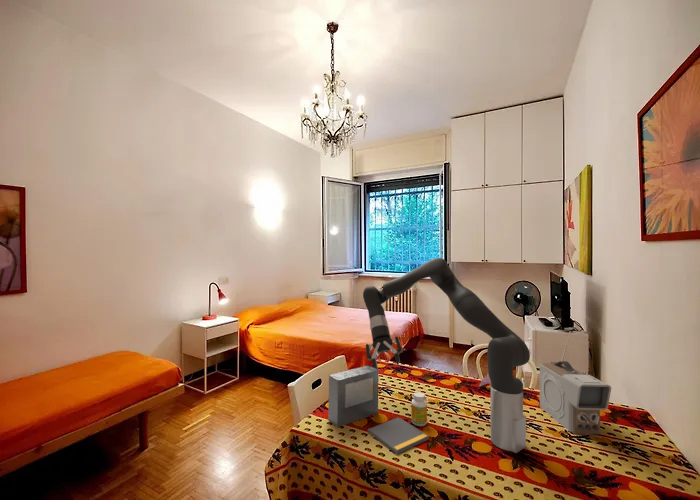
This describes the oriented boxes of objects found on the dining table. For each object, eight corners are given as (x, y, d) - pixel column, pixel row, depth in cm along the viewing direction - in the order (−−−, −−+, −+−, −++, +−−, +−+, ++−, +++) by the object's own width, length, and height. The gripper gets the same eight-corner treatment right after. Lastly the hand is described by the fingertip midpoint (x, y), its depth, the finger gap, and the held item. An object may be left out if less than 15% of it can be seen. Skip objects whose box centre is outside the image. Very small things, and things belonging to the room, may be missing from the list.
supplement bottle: (415, 427, 109) (415, 398, 109) (408, 419, 114) (408, 392, 114) (429, 425, 110) (429, 397, 110) (422, 417, 115) (422, 390, 115)
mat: (428, 439, 102) (428, 435, 102) (396, 454, 94) (396, 450, 94) (398, 420, 113) (398, 417, 113) (367, 432, 105) (367, 428, 105)
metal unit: (378, 413, 118) (379, 370, 118) (337, 428, 108) (338, 380, 108) (367, 405, 124) (367, 364, 124) (327, 419, 113) (328, 374, 114)
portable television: (578, 440, 102) (578, 347, 102) (537, 405, 126) (537, 329, 126) (616, 441, 102) (616, 347, 102) (567, 405, 125) (568, 330, 126)
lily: (508, 390, 142) (498, 368, 146) (514, 389, 132) (504, 366, 136) (481, 396, 143) (473, 374, 148) (486, 397, 133) (477, 373, 137)
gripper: (397, 328, 135) (406, 365, 125) (365, 336, 137) (372, 373, 127) (394, 320, 130) (403, 359, 119) (361, 329, 132) (367, 367, 121)
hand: (387, 366), depth 123 cm, fingers open, 8 cm apart
